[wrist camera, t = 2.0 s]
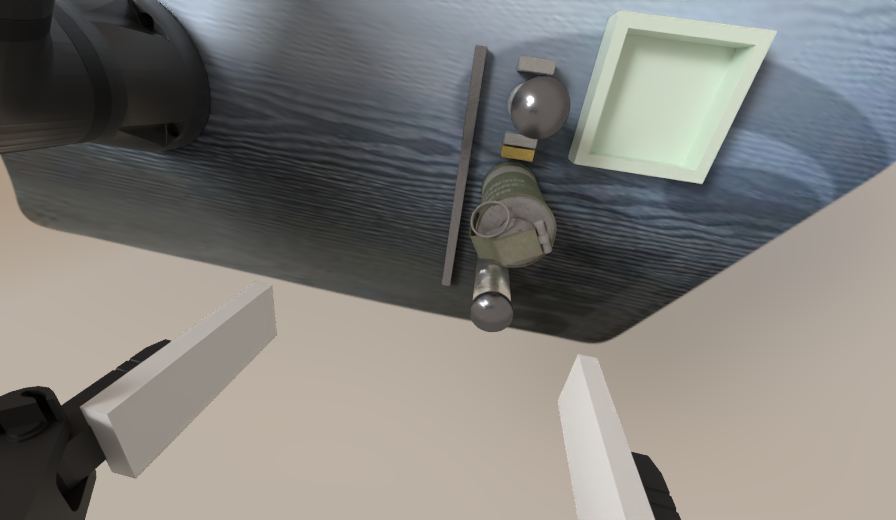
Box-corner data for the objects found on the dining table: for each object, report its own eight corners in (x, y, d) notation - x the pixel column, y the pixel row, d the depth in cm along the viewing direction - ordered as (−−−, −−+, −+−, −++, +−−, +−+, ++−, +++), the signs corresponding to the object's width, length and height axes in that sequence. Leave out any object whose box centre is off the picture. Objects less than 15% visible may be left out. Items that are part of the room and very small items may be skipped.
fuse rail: (442, 280, 42) (426, 338, 32) (476, 46, 30) (467, 24, 20) (501, 290, 41) (503, 352, 32) (558, 57, 30) (588, 41, 20)
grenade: (528, 152, 34) (549, 191, 20) (544, 205, 36) (573, 272, 23) (469, 174, 35) (454, 224, 22) (488, 224, 38) (485, 297, 24)
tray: (567, 158, 33) (574, 163, 31) (608, 18, 28) (619, 10, 25) (685, 176, 33) (702, 183, 30) (749, 36, 27) (777, 30, 25)
